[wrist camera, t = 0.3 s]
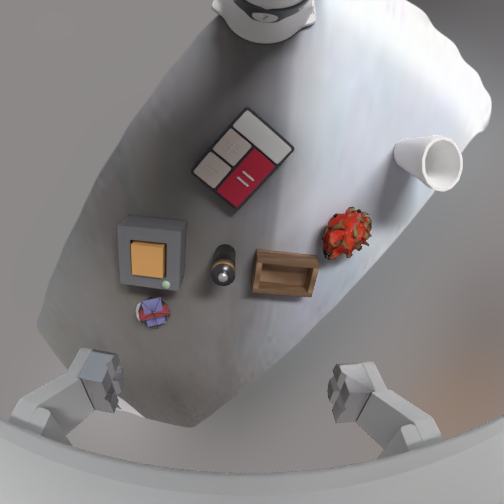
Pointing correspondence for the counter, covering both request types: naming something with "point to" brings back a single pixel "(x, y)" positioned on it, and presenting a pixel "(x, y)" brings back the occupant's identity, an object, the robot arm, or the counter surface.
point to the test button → (148, 258)
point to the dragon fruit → (346, 233)
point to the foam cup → (430, 160)
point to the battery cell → (224, 265)
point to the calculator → (242, 158)
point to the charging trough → (284, 273)
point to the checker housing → (153, 232)
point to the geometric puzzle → (152, 312)
